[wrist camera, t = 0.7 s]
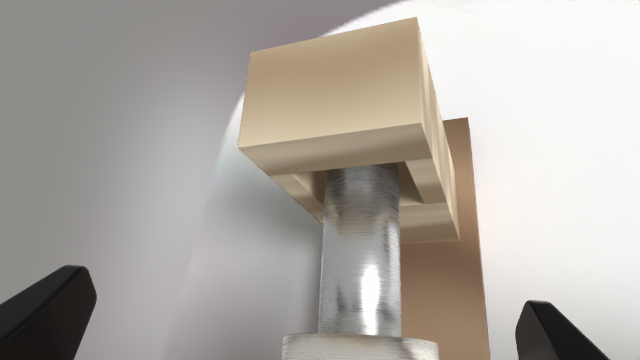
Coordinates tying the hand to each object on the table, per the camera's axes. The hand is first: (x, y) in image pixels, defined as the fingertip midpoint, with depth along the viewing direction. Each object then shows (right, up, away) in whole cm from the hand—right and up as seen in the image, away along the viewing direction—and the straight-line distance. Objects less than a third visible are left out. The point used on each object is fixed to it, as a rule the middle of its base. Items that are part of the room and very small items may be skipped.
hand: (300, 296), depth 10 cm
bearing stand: (+4, -2, +10) cm, 11 cm away
